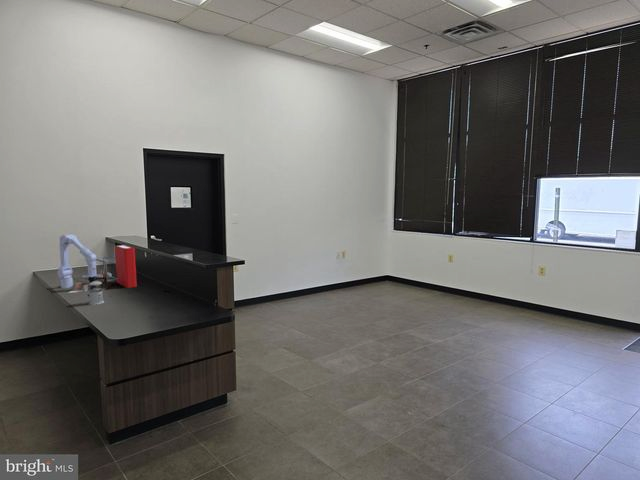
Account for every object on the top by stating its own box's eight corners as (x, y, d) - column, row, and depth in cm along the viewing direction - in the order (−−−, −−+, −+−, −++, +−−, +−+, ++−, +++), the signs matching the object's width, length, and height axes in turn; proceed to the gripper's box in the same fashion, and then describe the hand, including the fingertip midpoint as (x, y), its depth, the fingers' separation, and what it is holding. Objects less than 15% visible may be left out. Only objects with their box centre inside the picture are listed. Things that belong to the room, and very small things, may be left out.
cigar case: (92, 284, 350) (91, 270, 349) (92, 284, 352) (91, 270, 350) (106, 283, 356) (105, 269, 354) (106, 282, 357) (105, 268, 356)
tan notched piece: (76, 289, 332) (75, 282, 331) (92, 289, 333) (91, 282, 333) (72, 291, 326) (72, 284, 325) (89, 291, 327) (88, 284, 327)
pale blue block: (71, 292, 324) (70, 285, 323) (88, 291, 325) (87, 284, 325) (67, 294, 318) (67, 286, 317) (84, 293, 320) (84, 286, 319)
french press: (86, 305, 288) (83, 269, 285) (92, 300, 299) (89, 266, 296) (102, 304, 290) (99, 268, 287) (107, 299, 301) (104, 265, 298)
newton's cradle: (119, 280, 367) (117, 260, 365) (106, 282, 359) (105, 261, 357) (105, 275, 387) (103, 256, 385) (93, 277, 379) (91, 258, 377)
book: (117, 282, 358) (114, 245, 354) (127, 281, 363) (124, 244, 359) (126, 288, 337) (124, 248, 333) (137, 286, 342) (134, 247, 338)
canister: (77, 288, 331) (76, 282, 330) (83, 288, 332) (82, 282, 331) (74, 289, 327) (74, 284, 326) (80, 289, 327) (80, 283, 327)
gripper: (79, 270, 324) (81, 288, 325) (99, 270, 326) (101, 287, 327) (83, 269, 331) (85, 286, 332) (103, 268, 333) (104, 285, 334)
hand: (93, 286), depth 330 cm, fingers closed
